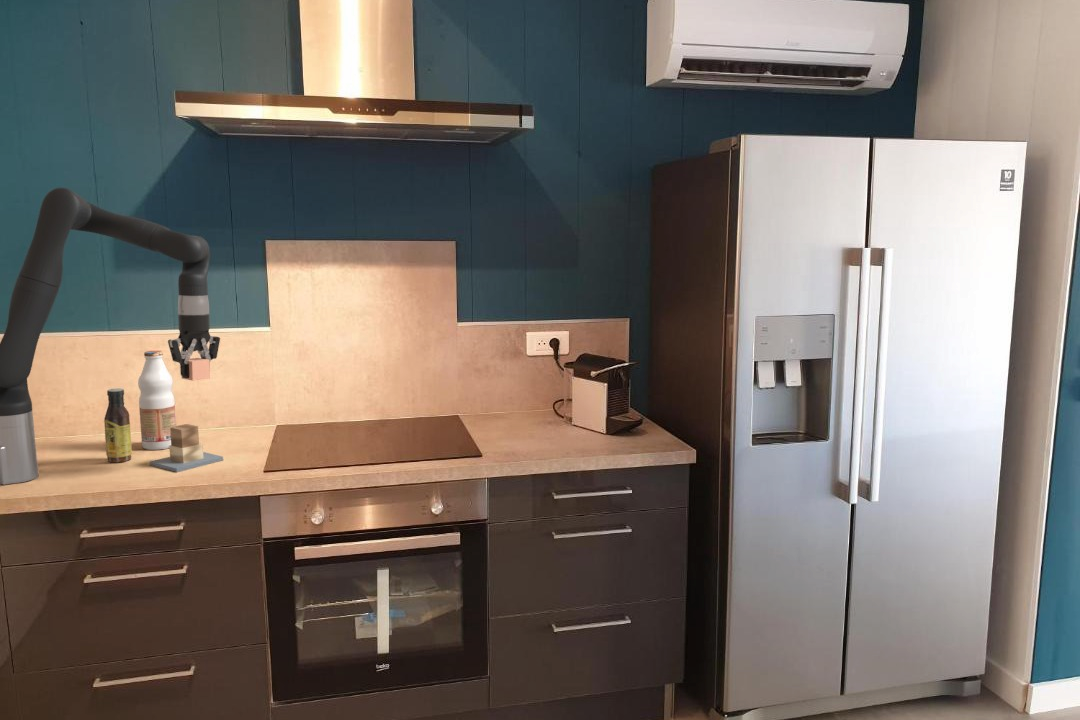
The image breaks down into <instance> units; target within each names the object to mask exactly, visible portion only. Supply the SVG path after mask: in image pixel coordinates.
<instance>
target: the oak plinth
mask: <svg viewBox="0 0 1080 720" xmlns="http://www.w3.org/2000/svg"><path fill="white" fill-rule="evenodd" d="M168 449H169V457H170V460H173V461H177V462H181V463H187V462H190V461H194V460H198V459H202V458H203V452H204V446H203V443H200V442H199V444H198V445H194V446H190V447H185V448H180V447H175V446H171V445H169V448H168Z"/></svg>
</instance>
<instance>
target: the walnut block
mask: <svg viewBox="0 0 1080 720" xmlns="http://www.w3.org/2000/svg"><path fill="white" fill-rule="evenodd" d="M170 433H171V446H175V447H180V448H185V447H190V446H194V445H198V444H199V443H200V437H199V436H200V435H199V425H194V424H190V423H189V424H188V423H186V424H180V425H176V426H175V427H170Z"/></svg>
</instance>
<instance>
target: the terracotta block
mask: <svg viewBox="0 0 1080 720" xmlns="http://www.w3.org/2000/svg"><path fill="white" fill-rule="evenodd" d="M188 364H189V378H183V377H182V376H181V379H183V380H187V381H200V380H201V381H202V380H208V379H210V378H211V365H210V363H209V360H208V359H202V358H201V357H195V358H194V357H193V358H190V359H189V363H188Z"/></svg>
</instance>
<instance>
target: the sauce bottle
mask: <svg viewBox="0 0 1080 720" xmlns="http://www.w3.org/2000/svg"><path fill="white" fill-rule="evenodd" d="M106 392H107V393H106V396H107V399H108V404H107V405H108V406H107V409H106V412H105V415H104V439H105V451H106V453H105V454H106V457H107V460H106V461H108V462H109V463H113V464H115V463H124V462H128V461H131V460H132V452H133V451H132V434H131V433H132V431H131V430H132V429H131V422H130V421H131V420H130V412H129V410H128V409H127V407H125V402H124V401H125V399H124V397H125V390H124V389H123V388H116V387H115V388H109V389H108V390H107V391H106Z"/></svg>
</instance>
